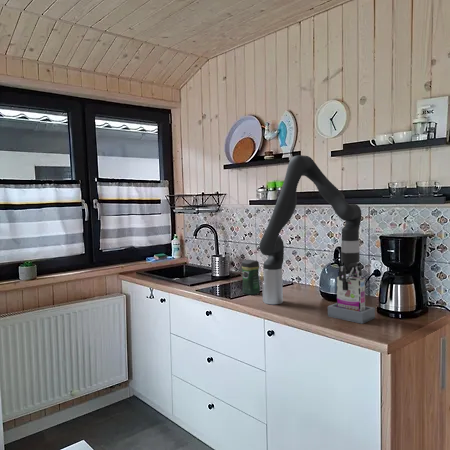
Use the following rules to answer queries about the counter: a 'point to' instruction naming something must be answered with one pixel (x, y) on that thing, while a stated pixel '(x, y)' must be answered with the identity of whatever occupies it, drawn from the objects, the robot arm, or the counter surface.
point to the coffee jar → (250, 277)
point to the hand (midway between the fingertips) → (350, 288)
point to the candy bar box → (351, 294)
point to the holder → (351, 314)
